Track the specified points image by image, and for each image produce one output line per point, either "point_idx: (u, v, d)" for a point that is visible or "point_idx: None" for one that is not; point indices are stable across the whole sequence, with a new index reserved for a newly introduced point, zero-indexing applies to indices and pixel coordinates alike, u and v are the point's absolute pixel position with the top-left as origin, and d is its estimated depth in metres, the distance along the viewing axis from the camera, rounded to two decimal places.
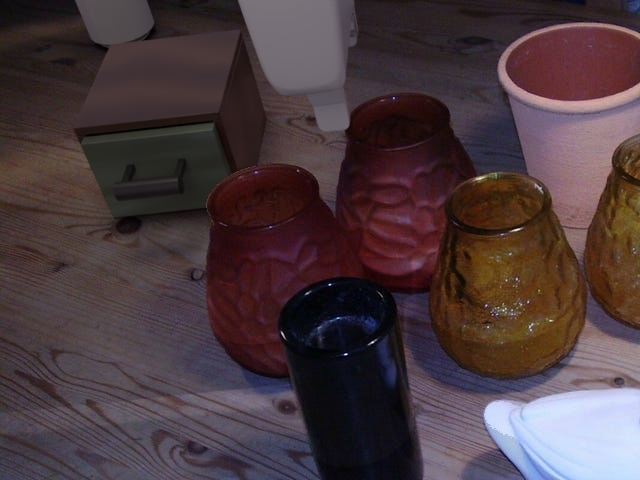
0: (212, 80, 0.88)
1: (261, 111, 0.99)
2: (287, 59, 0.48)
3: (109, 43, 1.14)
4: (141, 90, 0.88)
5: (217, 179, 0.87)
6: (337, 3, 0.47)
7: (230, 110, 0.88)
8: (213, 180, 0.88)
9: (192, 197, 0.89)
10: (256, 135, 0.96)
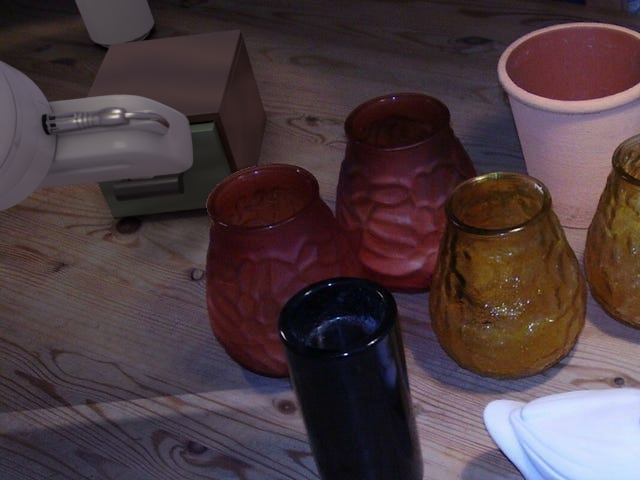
0: (212, 80, 0.88)
1: (261, 111, 0.99)
2: None
3: (109, 43, 1.14)
4: (141, 90, 0.88)
5: (217, 179, 0.87)
6: None
7: (230, 110, 0.88)
8: (213, 180, 0.88)
9: (192, 197, 0.89)
10: (256, 135, 0.96)
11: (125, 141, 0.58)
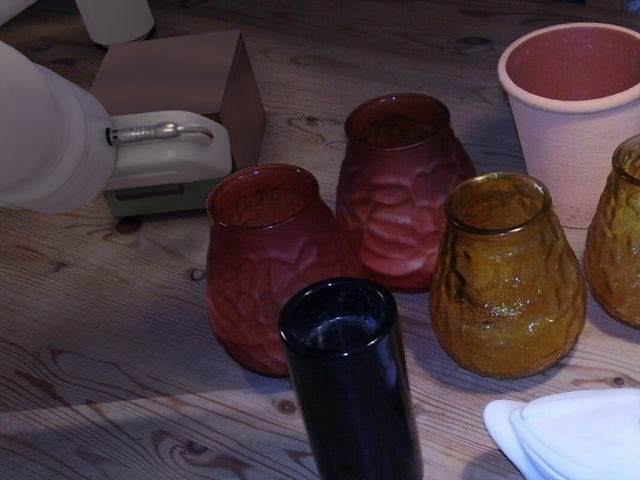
0: (212, 80, 0.88)
1: (261, 111, 0.99)
2: None
3: (109, 43, 1.14)
4: (141, 90, 0.88)
5: (217, 179, 0.87)
6: None
7: (230, 110, 0.88)
8: (213, 180, 0.88)
9: (192, 197, 0.89)
10: (256, 135, 0.96)
11: (176, 151, 0.66)
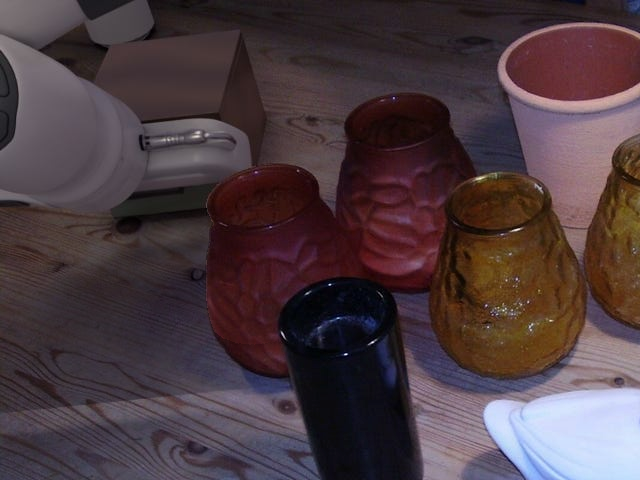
0: (212, 80, 0.88)
1: (261, 111, 0.99)
2: None
3: (109, 43, 1.14)
4: (141, 90, 0.88)
5: None
6: None
7: (230, 110, 0.88)
8: None
9: (192, 197, 0.89)
10: (256, 135, 0.96)
11: (203, 156, 0.72)
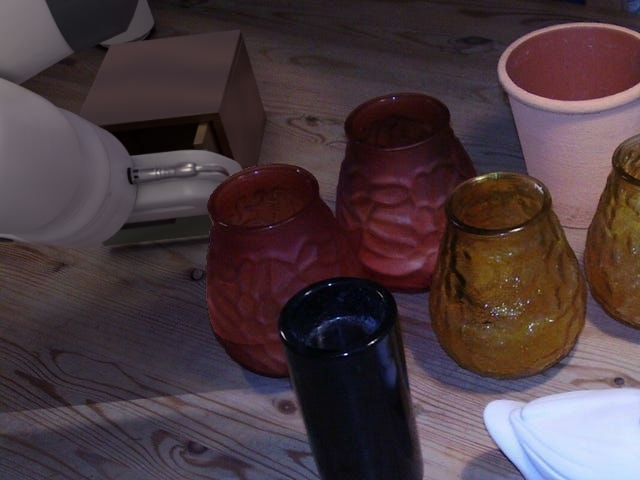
0: (212, 80, 0.88)
1: (261, 111, 0.99)
2: None
3: (109, 43, 1.14)
4: (141, 90, 0.88)
5: None
6: None
7: (230, 110, 0.88)
8: None
9: (184, 225, 0.86)
10: (256, 135, 0.96)
11: (194, 189, 0.69)
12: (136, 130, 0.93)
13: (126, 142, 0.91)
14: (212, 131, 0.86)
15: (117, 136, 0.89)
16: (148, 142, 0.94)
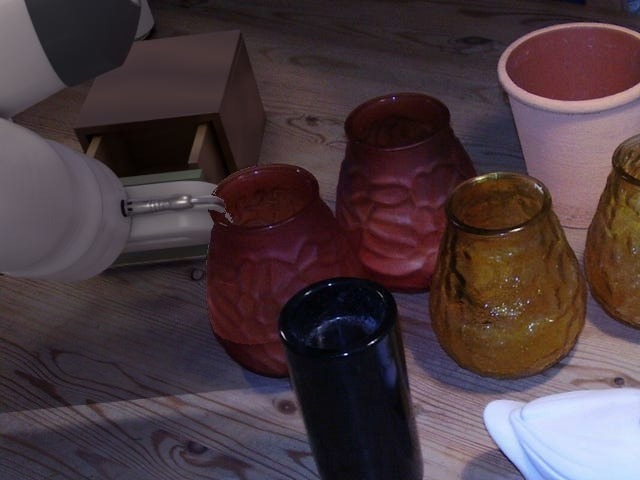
0: (212, 80, 0.88)
1: (261, 111, 0.99)
2: None
3: None
4: (141, 90, 0.88)
5: None
6: None
7: (230, 110, 0.88)
8: None
9: None
10: (256, 135, 0.96)
11: (190, 221, 0.68)
12: (130, 147, 0.91)
13: (119, 159, 0.89)
14: (207, 149, 0.84)
15: (110, 154, 0.87)
16: (142, 159, 0.92)
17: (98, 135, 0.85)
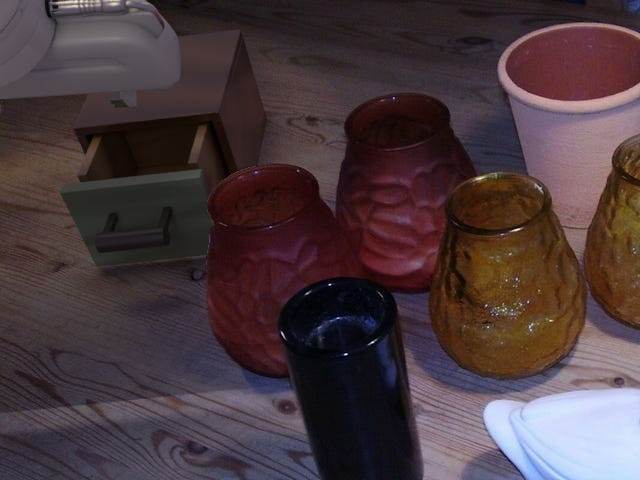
0: (212, 80, 0.88)
1: (261, 111, 0.99)
2: None
3: None
4: (141, 90, 0.88)
5: (205, 227, 0.83)
6: None
7: (230, 110, 0.88)
8: (201, 229, 0.83)
9: (179, 246, 0.84)
10: (256, 135, 0.96)
11: (122, 33, 0.61)
12: (130, 147, 0.91)
13: (119, 159, 0.89)
14: (207, 149, 0.84)
15: (110, 154, 0.87)
16: (142, 159, 0.92)
17: (98, 135, 0.85)
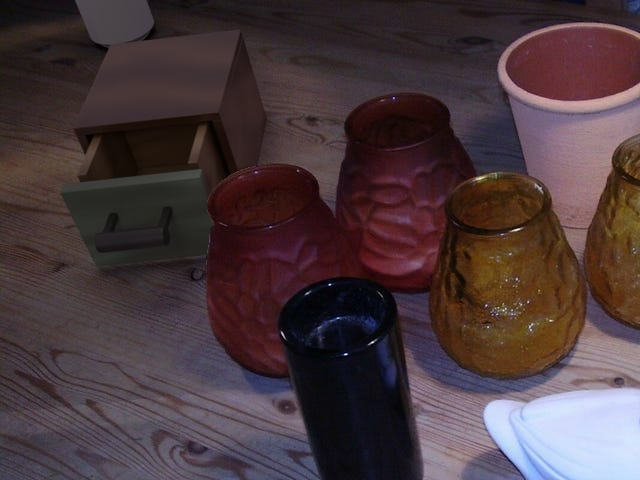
0: (212, 80, 0.88)
1: (261, 111, 0.99)
2: None
3: (109, 43, 1.14)
4: (141, 90, 0.88)
5: (205, 227, 0.83)
6: None
7: (230, 110, 0.88)
8: (201, 229, 0.83)
9: (179, 246, 0.84)
10: (256, 135, 0.96)
11: None
12: (130, 147, 0.91)
13: (119, 159, 0.89)
14: (207, 149, 0.84)
15: (110, 154, 0.87)
16: (142, 159, 0.92)
17: (98, 135, 0.85)
